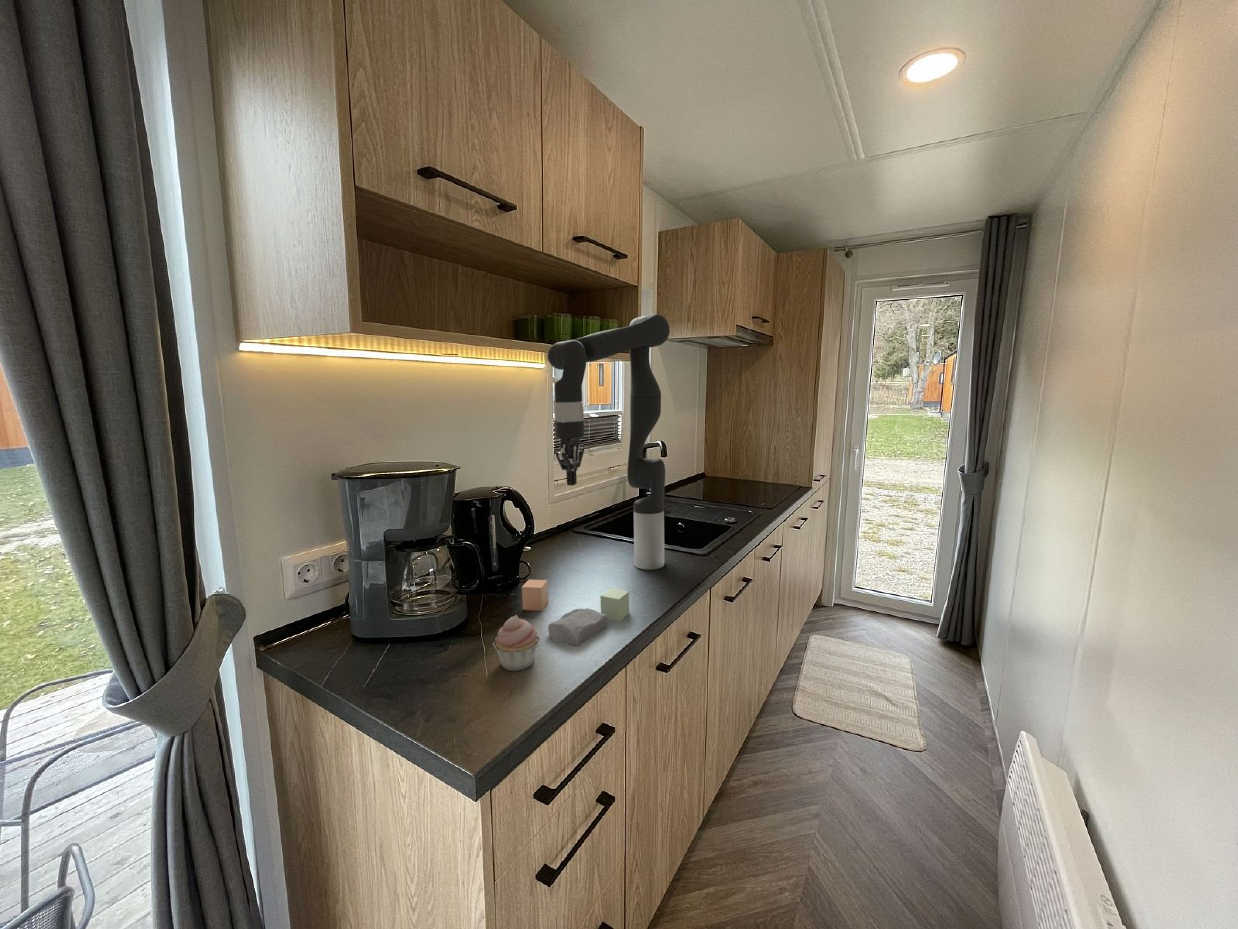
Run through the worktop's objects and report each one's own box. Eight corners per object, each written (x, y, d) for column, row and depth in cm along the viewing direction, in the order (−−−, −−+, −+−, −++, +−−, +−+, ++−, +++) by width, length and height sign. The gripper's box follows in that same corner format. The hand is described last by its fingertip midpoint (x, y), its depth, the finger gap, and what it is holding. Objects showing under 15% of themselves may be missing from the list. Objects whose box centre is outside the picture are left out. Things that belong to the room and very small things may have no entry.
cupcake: (551, 662, 99) (548, 615, 98) (510, 682, 93) (507, 631, 92) (525, 646, 106) (523, 601, 105) (485, 663, 100) (482, 615, 98)
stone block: (544, 645, 110) (579, 648, 105) (541, 624, 110) (575, 626, 105) (578, 626, 120) (611, 628, 114) (575, 606, 120) (608, 607, 114)
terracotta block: (530, 601, 129) (528, 579, 128) (548, 602, 128) (547, 580, 127) (523, 609, 124) (521, 586, 123) (542, 611, 123) (541, 587, 123)
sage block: (611, 609, 123) (610, 588, 123) (629, 613, 121) (628, 591, 120) (601, 617, 119) (600, 595, 118) (619, 621, 117) (619, 599, 116)
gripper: (567, 418, 137) (569, 480, 140) (544, 421, 125) (547, 489, 128) (592, 418, 135) (594, 481, 137) (571, 421, 123) (574, 490, 125)
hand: (571, 484), depth 133 cm, fingers closed
